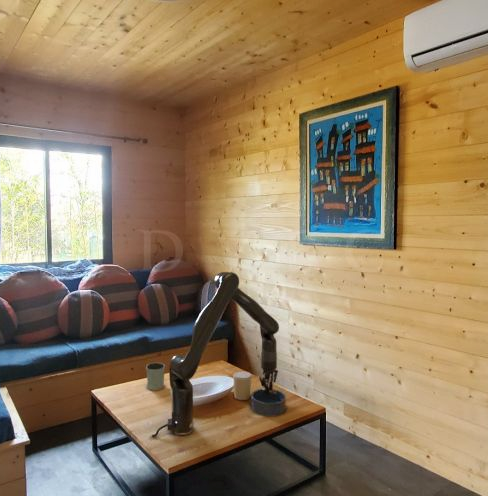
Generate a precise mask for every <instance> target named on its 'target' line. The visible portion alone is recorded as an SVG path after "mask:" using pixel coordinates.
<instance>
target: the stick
mask: <svg viewBox="0 0 488 496" xmlns="http://www.w3.org/2000/svg"><path fill="white" fill-rule="evenodd" d="M260 389H261V392H263V393H265V387H263V386H261V388H260ZM269 395H272V396H276V395H277V392H276V391H273V390H270V389H269Z"/></svg>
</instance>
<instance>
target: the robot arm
mask: <svg viewBox="0 0 488 496" xmlns="http://www.w3.org/2000/svg"><path fill="white" fill-rule="evenodd" d="M239 285H240V277H239V276H238V274H237V273H235V272H232V271H222V272H219V273H217V274H216V275H215V278H214V286H215V287H216V289H217V290H216V293H215V294H214V296H213V297H212V299H211V300H210V301H209V302H208V303H207V304H206V305H205V307H204V308H203V309H202V310H201V311H200V313H199V314H198V317H197V318H196V320H195V322H194V324H193V328H192V334H191V335H192V336H191V343H190V347H189V349H188V351H187V353H186V355H184V354H181V353H179V354H175V355H174V356H172V358H171V359H170V362H169V366H168V367H169V369H168V374H169V386H170V390H171V418H167V423H165V424H164V425H162V426H160V427H158V429H157V430H156V432H155V433H154V434H151V437H152V438H155V437H157V436H158V435H159V432H160V431H161V430H162V429H164V428H167V431H171V435H176V436H186V435H189V434H191V433H192V432H193V431H194V424H195V421H194V385H193V384H192V383H191V380H192V379H193V377H194V376H195V374H196V373H197V370H198V368H199V366H200V362H201V360H202V358H203V355H204V353H205V350H206V348H207V346H208V345H209V342H210V340H211V338H212V336H213V335H214V333H215V330H216V328H217V326H218V325H219V322H220V320H221V319H222V317H223V314H224V312H225V311H226V308H227V307H228V304H229V303H230V302H231V300H232V302H234V303H236V304H237V305H238V306H239V307H240V308H241V309H242V310H243V311H244V312H245V313H246V314H247V315H248V316H249V317H250V318H251V319H252V320H253V321H254V322H256V323H257V324H258V325H259V330H260V337H261V355H260V358H261V359H260V360H261V362H260V368H261V369H262V375H261V376H259V378H258V379H259V382H260V385H261V387H264V388H265V394H267V395H268V394H269V389H270V390H273V389H274V388H273V387H274V384H275V383H276V381H277V378H278V377H277V376H278V373H279V370H278V369H277V367H278V352H277V338H276V336H275V335H276V334H278V332H279V331H280V325H279V323H278V321H277V320H276V319H275V318H274V317H273V316H271V315H270V314H269V313H268V312H267V311H266V310H265V309H264V308H263V307H262V306H261V305H260V304H259V302H257V300H255V299H254V298H252V297H251V296H249V294H247V293H245V292H244V291H243V290H241V289H240V287H239Z"/></svg>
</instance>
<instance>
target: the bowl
mask: <svg viewBox="0 0 488 496" xmlns="http://www.w3.org/2000/svg"><path fill="white" fill-rule="evenodd" d="M273 391H276V392H277V395H276V396H272V395H269V394H268V395H267V394H265V393H263V392H261V388H259V389H256V390H253V392H252V393H251V394H250V407H251V408H250V409H251V410H252V411H253V412H254V413H256V414H258V415H261V416H266V417H274V416H275V417H276V416H279V415H282V414H284V412H285V411H286V407H287V406H286V403H287V397H286V394H285V393H283V392H282V391H280V390H278V389H274V388H273Z"/></svg>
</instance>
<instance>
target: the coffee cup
mask: <svg viewBox="0 0 488 496" xmlns="http://www.w3.org/2000/svg"><path fill="white" fill-rule="evenodd" d="M232 377H233V391H234V392H233V394H234V399H236V400H239V401H247V400H249V399H250V398H251V384H252V383H251V382H252V374H251V373H250V372H249V371H245V370H241V371H239V370H238V371H235V372H234V373H233V376H232Z"/></svg>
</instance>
